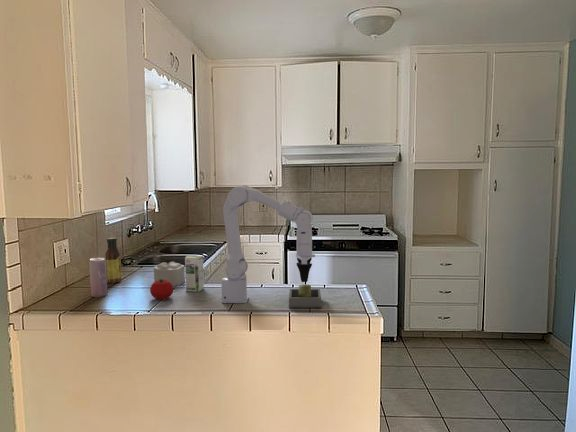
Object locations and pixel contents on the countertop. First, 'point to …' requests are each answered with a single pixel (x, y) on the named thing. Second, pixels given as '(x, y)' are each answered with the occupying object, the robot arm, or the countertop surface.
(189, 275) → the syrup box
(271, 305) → the countertop surface
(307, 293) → the green cylinder
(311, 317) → the countertop surface
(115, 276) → the sauce bottle
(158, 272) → the egg container
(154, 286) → the tomato
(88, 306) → the countertop surface
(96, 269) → the beverage can
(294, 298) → the bin
